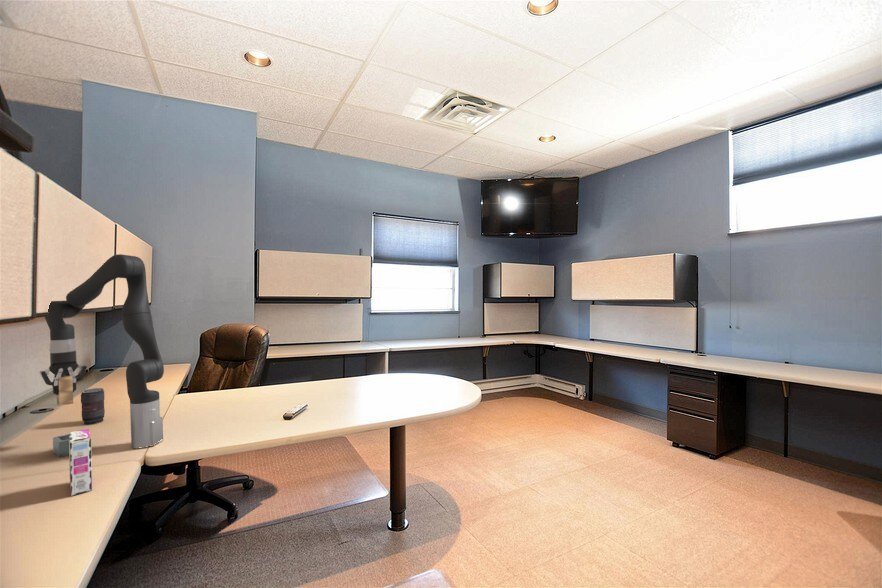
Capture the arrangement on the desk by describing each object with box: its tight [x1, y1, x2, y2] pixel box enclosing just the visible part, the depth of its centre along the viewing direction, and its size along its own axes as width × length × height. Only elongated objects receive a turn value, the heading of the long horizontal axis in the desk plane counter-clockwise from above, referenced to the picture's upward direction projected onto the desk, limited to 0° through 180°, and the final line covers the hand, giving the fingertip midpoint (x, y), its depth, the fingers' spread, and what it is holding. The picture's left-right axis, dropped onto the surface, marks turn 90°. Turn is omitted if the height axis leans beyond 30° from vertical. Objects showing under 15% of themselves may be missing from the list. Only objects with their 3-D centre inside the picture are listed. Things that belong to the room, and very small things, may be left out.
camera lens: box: [80, 387, 106, 426], centre depth 180 cm, size 8×8×15 cm
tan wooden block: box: [56, 375, 74, 407], centre depth 156 cm, size 4×4×11 cm
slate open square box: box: [52, 433, 69, 458], centre depth 148 cm, size 8×8×6 cm
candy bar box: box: [68, 428, 93, 497], centre depth 120 cm, size 11×5×16 cm, turn 45°
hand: (64, 393), depth 156 cm, fingers closed on tan wooden block, 4 cm apart
